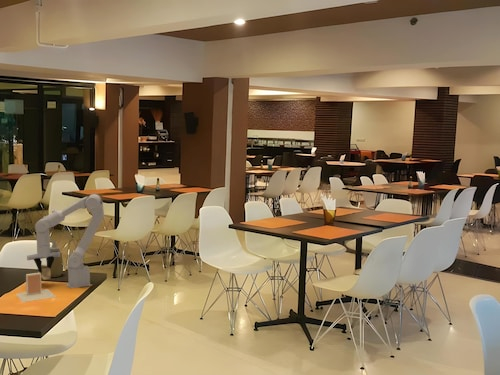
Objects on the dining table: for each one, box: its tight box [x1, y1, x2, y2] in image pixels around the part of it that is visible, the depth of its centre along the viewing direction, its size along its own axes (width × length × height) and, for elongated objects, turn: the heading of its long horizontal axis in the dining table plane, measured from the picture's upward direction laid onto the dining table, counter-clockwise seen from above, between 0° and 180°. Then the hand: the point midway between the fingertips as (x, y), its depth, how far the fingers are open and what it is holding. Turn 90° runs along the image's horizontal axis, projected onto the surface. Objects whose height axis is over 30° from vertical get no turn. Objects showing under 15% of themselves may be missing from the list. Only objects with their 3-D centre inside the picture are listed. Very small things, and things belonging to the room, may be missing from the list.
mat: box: [15, 288, 57, 303], centre depth 246 cm, size 14×14×1 cm
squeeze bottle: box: [50, 239, 64, 278], centre depth 277 cm, size 8×8×18 cm
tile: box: [25, 272, 42, 295], centre depth 247 cm, size 6×2×9 cm, turn 124°
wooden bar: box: [37, 264, 52, 281], centre depth 259 cm, size 3×10×4 cm, turn 34°
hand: (44, 273), depth 260 cm, fingers closed on wooden bar, 3 cm apart
